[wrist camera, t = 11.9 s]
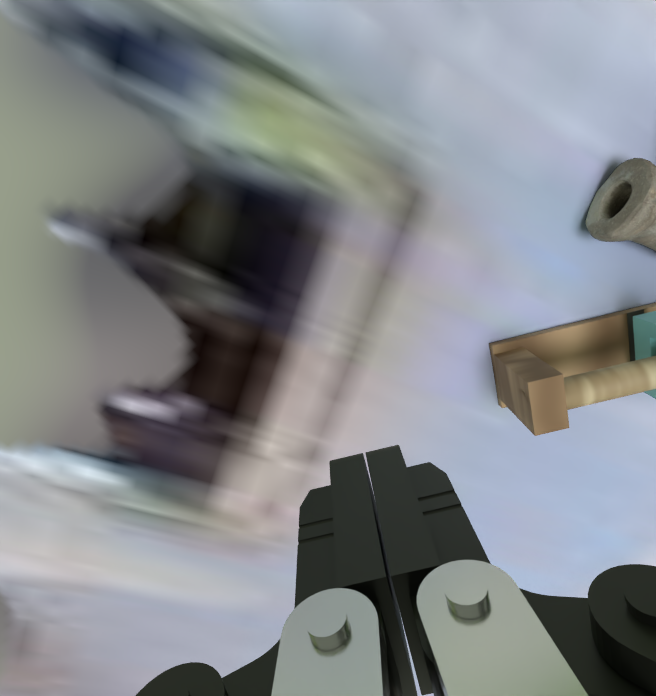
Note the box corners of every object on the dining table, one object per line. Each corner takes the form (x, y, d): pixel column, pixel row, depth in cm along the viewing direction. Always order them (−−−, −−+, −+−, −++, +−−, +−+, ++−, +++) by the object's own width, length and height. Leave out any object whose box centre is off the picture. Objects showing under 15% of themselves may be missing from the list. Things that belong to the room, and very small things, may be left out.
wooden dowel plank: (498, 404, 44) (537, 446, 36) (489, 343, 42) (527, 373, 34) (692, 358, 43) (774, 391, 35) (690, 294, 41) (775, 314, 33)
